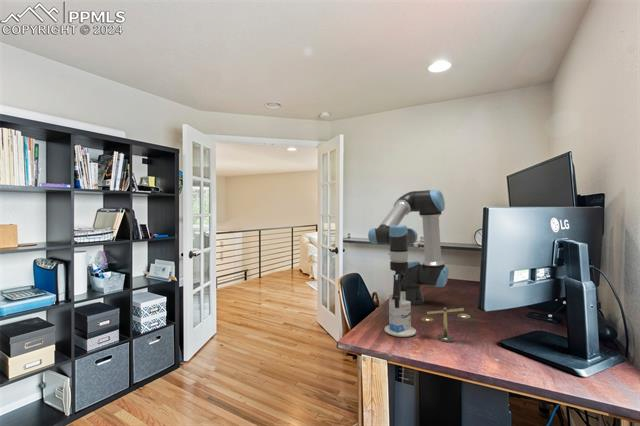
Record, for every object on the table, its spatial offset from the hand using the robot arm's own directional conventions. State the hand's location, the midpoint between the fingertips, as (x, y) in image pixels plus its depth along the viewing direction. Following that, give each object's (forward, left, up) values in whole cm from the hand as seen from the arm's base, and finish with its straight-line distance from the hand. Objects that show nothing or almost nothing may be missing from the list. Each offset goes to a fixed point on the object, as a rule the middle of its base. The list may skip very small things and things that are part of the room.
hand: (400, 310), depth 129 cm
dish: (0, 0, -9) cm, 9 cm away
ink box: (0, 0, -8) cm, 8 cm away
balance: (+1, +18, -9) cm, 20 cm away
